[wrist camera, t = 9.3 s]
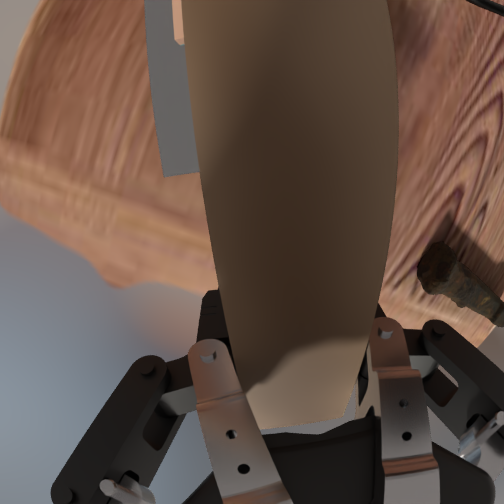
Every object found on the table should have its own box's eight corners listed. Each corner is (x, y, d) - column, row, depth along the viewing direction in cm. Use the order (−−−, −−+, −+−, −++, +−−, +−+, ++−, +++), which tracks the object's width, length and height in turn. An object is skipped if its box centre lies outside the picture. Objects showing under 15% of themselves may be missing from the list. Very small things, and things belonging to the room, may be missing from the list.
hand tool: (407, 271, 21) (434, 305, 17) (434, 234, 20) (466, 263, 16) (481, 319, 26) (498, 342, 22) (499, 296, 25) (518, 318, 21)
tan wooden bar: (308, -40, 6) (350, -106, 1) (319, 338, 14) (342, 416, 10) (200, -37, 6) (179, -110, 1) (246, 347, 14) (250, 430, 10)
